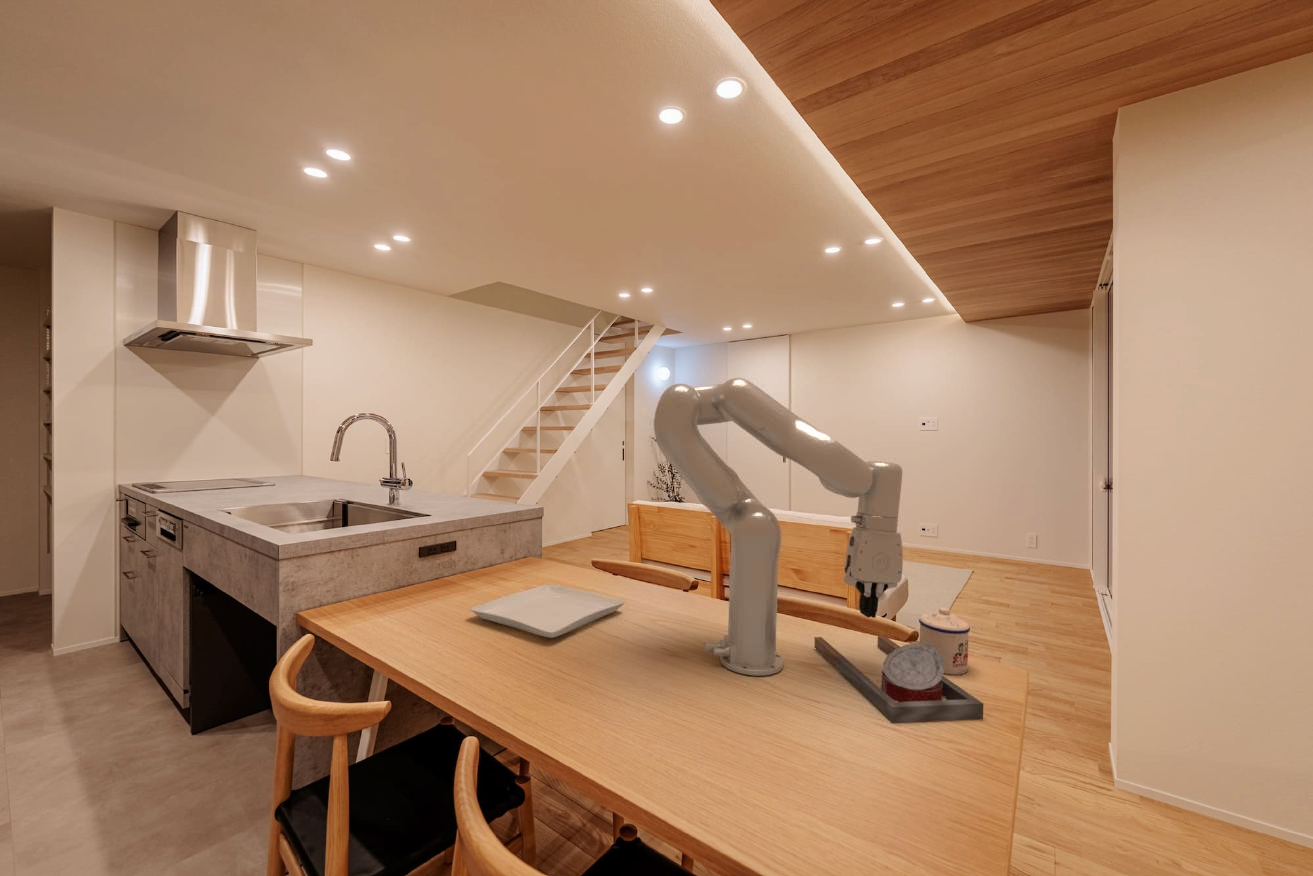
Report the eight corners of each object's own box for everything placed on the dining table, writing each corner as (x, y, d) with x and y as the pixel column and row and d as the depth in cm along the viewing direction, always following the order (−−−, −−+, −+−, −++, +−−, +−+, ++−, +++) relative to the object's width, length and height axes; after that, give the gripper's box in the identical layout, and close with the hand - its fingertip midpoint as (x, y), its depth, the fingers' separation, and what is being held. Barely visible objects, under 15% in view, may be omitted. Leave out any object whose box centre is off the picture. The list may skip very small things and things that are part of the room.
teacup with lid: (962, 680, 100) (964, 619, 100) (912, 665, 107) (913, 608, 107) (976, 661, 109) (978, 605, 109) (928, 649, 116) (930, 596, 115)
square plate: (627, 614, 134) (627, 599, 134) (551, 649, 111) (551, 631, 111) (548, 595, 148) (548, 581, 148) (467, 622, 125) (467, 606, 125)
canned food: (943, 729, 92) (965, 692, 87) (885, 721, 92) (905, 683, 87) (918, 673, 102) (937, 637, 97) (867, 666, 102) (883, 630, 97)
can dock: (892, 722, 85) (892, 707, 85) (814, 648, 114) (814, 637, 114) (983, 718, 87) (983, 703, 87) (883, 647, 116) (884, 635, 116)
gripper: (850, 524, 100) (841, 620, 100) (923, 529, 102) (913, 623, 102) (832, 517, 108) (823, 606, 108) (900, 523, 110) (891, 610, 110)
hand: (867, 614), depth 105 cm, fingers closed
